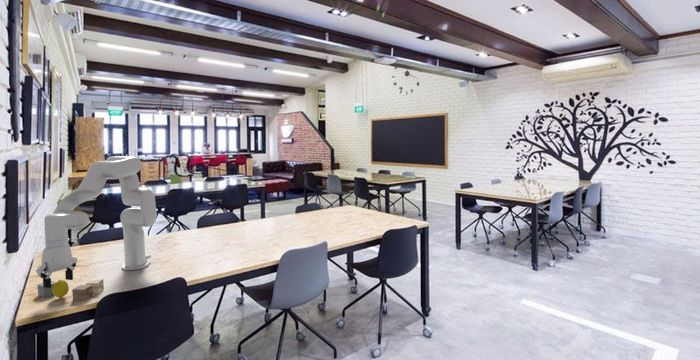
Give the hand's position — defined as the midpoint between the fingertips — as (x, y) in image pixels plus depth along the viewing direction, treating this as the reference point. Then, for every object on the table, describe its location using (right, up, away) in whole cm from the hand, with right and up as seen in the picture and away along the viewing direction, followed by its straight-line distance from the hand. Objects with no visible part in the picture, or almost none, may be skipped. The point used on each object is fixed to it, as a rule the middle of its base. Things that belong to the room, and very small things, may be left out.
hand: (58, 283), depth 157 cm
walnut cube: (+9, -7, +1) cm, 12 cm away
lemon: (0, -7, +1) cm, 7 cm away
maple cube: (+10, -6, +9) cm, 14 cm away
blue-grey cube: (-8, -6, +5) cm, 12 cm away
